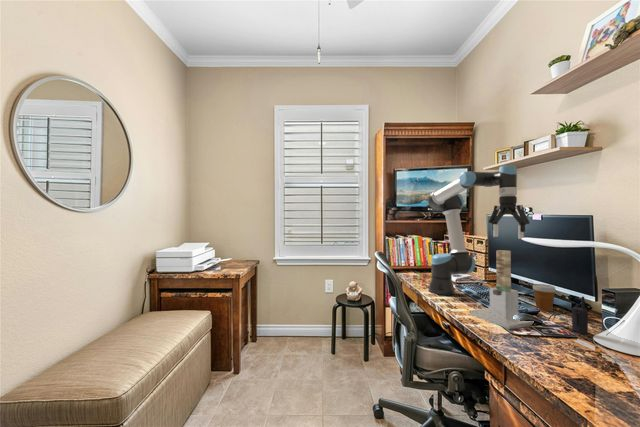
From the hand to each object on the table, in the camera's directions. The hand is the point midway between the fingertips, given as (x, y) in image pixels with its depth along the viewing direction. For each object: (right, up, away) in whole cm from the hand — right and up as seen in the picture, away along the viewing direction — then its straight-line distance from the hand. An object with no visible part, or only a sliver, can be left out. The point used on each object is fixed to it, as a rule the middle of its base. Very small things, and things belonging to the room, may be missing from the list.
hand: (507, 237), depth 148 cm
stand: (-11, -36, -13) cm, 40 cm away
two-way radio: (+10, -37, -29) cm, 48 cm away
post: (-11, -29, -13) cm, 34 cm away
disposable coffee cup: (+18, -37, -1) cm, 41 cm away
